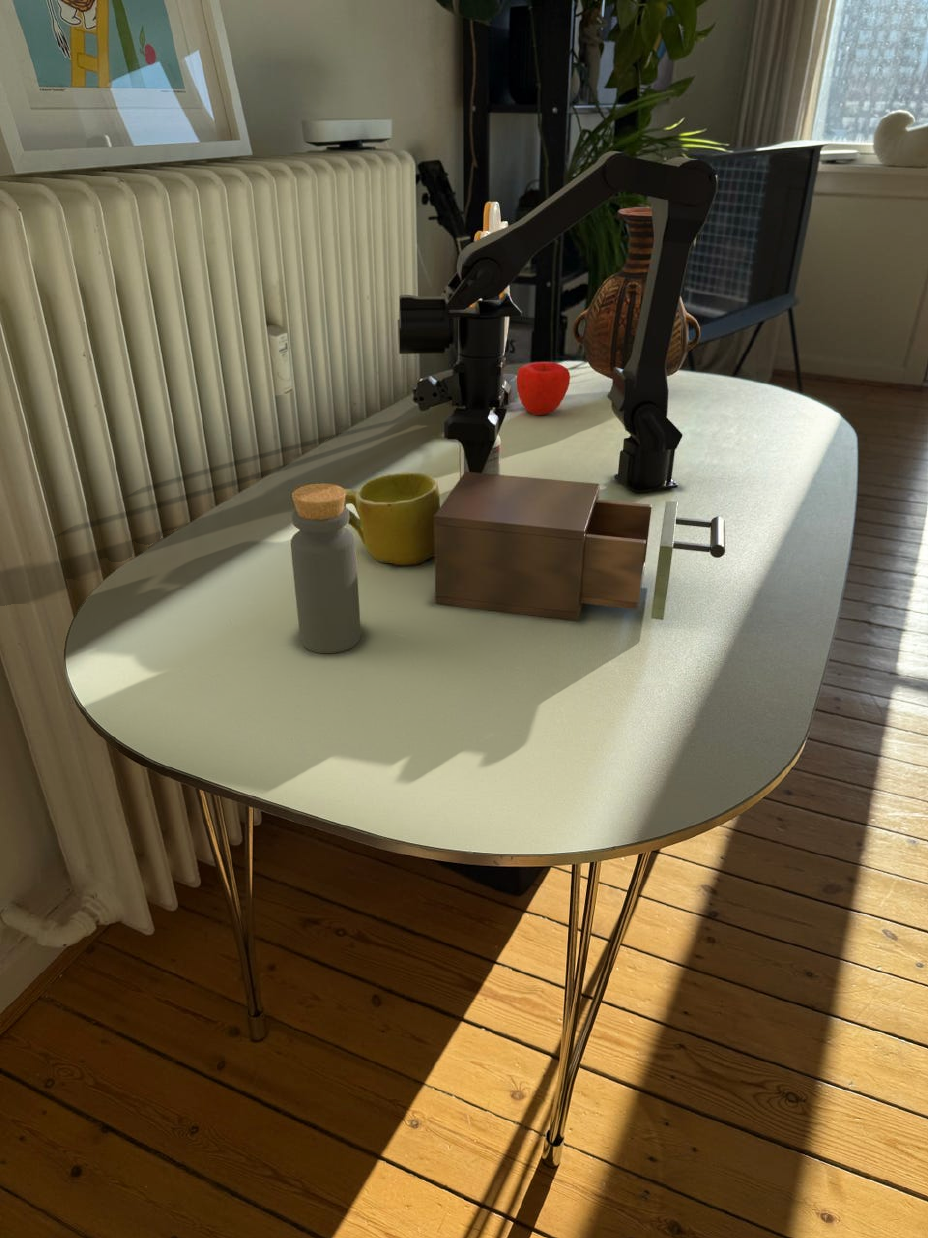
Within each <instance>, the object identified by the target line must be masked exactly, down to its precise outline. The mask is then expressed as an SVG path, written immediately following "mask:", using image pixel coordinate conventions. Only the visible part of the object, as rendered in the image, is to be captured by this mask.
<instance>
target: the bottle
mask: <svg viewBox="0 0 928 1238" xmlns="http://www.w3.org/2000/svg"><path fill="white" fill-rule="evenodd" d="M344 489H345V488H344V487H342V486H339V485H337V484H333V483H312V484H306V485H303V486H300V487H298V488H297V489H294V491H293V492H292V494H291V497H292V500H293V504H294V507H295V508H294V509H293V511H292V512H291V521H292V525H293V527H295V528H296V529H297V530H298V531H296V532H295V533H294V534H293V535H292V537H291V538H290V554H291V564H292V575H293V585H294V595H295V605H296V613H297V622H298V633H299V639H300V644H301V645H302V646H303V647H304V648H305V649H307V650H309V651H310V652H315V653H318V654H335V653H341V652H344V651H347V650H349V649H352V648H353V647H355V646H356V645H357V644H358V643H359V642H360V640H361V636H362V635H361V615H360V614H361V613H360V597H359V583H358V582H359V579H358V565H357V563H358V562H357V549H356V538H355V536H354V535H355V534H353V532H352V531H351V530H349V529H347V528H346V526H347V525H349V524H348V523H349V518H350V516H349V510H350V509H349V508H348V507H347V505H346V506H344V502H345V495H346V492H345V490H344Z"/></svg>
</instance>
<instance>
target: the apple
mask: <svg viewBox="0 0 928 1238" xmlns="http://www.w3.org/2000/svg"><path fill="white" fill-rule="evenodd" d="M516 375H517V390H518V397H519V400H520V403H521V405H522V406H523V408H524V409H525V411H526V412H527V413H529V414H531V415H533V416H534V415H535V416H541V415H542V416H543V415H547V414H551V413H553V412H555V410H556V409H557V408H559V406H560V405H561V403H562V401H563V399H564V398H565V396H566V394H567V392H568V389H569V387H570V384H571V383H570V382H571V373H570V371H569V369H568V368H567V367H565V366H564V365H562V364H560V363H556V362H551V361H539V362H538V361H535V362H531V363H527V364H524V365H522V366H519V369H518V371H517V374H516Z"/></svg>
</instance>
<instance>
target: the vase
mask: <svg viewBox="0 0 928 1238" xmlns="http://www.w3.org/2000/svg"><path fill="white" fill-rule="evenodd" d="M616 214H617V219H618V221H620V222H626V223H627V224H626V225H627V228H628V237H629V241H628V253H627V259H626V261H625V264H624V265H623V267H622V268H621V269H620V270H618V272H616V273H614V274H612V275H610V276H609V277H607V279H605V280H604V281H603V282H602V283H601V285H600V286H599V288H598V289H597V292H596V293H595V294H594V297H593V299H592V300H591V303H590V304H589V307H588V308H587V309H586V310H584V311H583V312H581V313H579V315H578V316H577V317H576V318H575V320H574V323H573V325H572V326H573V327H572V333H573V338H574V340H575V341H576V343H578V345H580V346H581V347H582V348H583V351H584V356H585V359H586V362H587V363H588V365H589V367H590V368H591V369H592V370H593V371H594V372H596V373H598V374H600V375H602V376H603V377H606V378H608V379H611V381H613V369H614V368H619V369H622V370H624V368H625V366H626V365H627V363H628V361H629V360H630V358H631V355H632V352H633V346H634V341H635V336H636V331H637V326H638V321H639V316H640V311H641V306H642V301H643V296H644V290H645V285H646V280H647V275H648V270H649V265H650V260H651V255H652V250H653V245H654V229H653V220H652V206H636V207H627V208H621V209H618V210H617V212H616ZM583 320H584V328H583V335H582V334H580V332H579V331H580V329H579V327H580V324H581V322H582V321H583ZM689 324H691V325H692V326H693V327H694V331H695V337H694V339H693V340H690V337H689V336H690V335H689V334H690V333H689ZM700 338H701V327H700V325H699V323H698V321H697V319H696V318H695V317H694V316H693V315H692V314H690V313H688V312H687V310H686V308H685V305H684V302H683V299H682V295H681V296H680V300H679V305H678V310H677V314H676V319H675V324H674V328H673V333H672V338H671V342H670V347H669V351H668V356H667V361H666V374H667V377H670V376H672V375H675V373H677V372H678V371H679V370H680V369H681V368H682V365H683V363H684V361H685V359H686V356H687V355H688V353H689V351H690V350H692V349H693V348H694V347H695V346H696V345H697V344H698V343H699V341H700V340H701V339H700Z"/></svg>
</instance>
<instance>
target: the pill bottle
mask: <svg viewBox="0 0 928 1238" xmlns="http://www.w3.org/2000/svg"><path fill="white" fill-rule="evenodd" d="M458 442H459V441H458ZM458 445H459V448H458V449H459V479H460V478H461V477H462V476H463V474H464V473H465V472H469V469H468V465H467V461H466V457H465V453H464V450H463V446H462V444H461V443H460V442H459V444H458ZM482 473H486V474H497V475H501V437H500V435H499V434H498V436H497V438H496V441H495V443H494V445H493V448H492V450H491V453H490V455H489V457H488V460H487V462H486V465H485V467H484V469H483V472H482Z"/></svg>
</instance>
